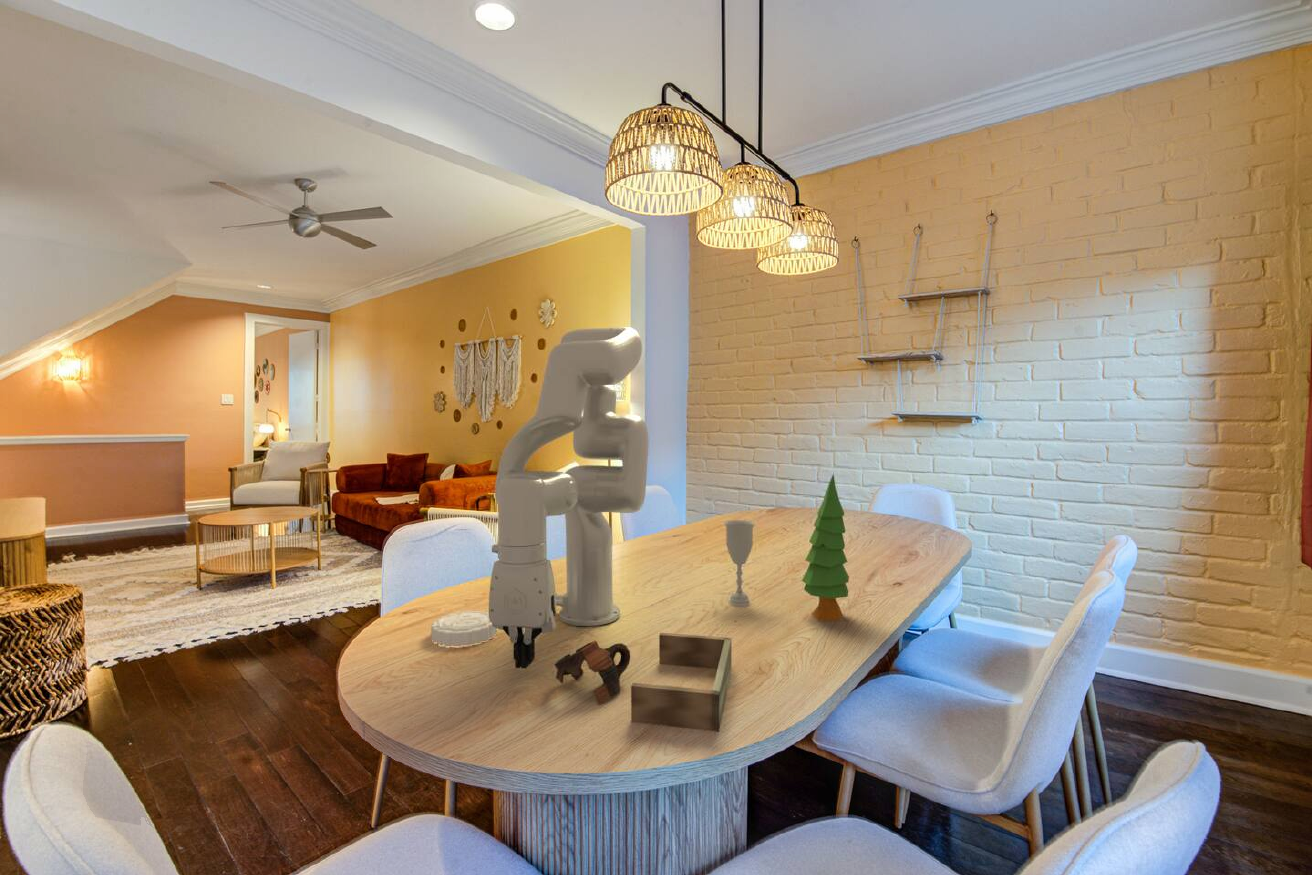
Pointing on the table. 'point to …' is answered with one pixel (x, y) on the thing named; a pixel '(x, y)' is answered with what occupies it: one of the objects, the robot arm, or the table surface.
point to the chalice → (739, 554)
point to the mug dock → (681, 702)
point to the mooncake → (462, 628)
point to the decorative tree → (827, 558)
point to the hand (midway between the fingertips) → (524, 664)
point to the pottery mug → (597, 667)
